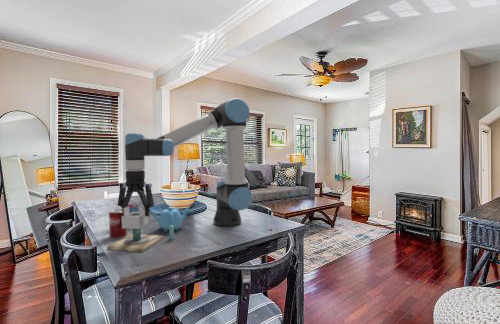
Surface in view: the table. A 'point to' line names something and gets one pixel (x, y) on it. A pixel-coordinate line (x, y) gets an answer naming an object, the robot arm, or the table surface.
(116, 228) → the soda can
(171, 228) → the stand rod
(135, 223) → the white square bowl
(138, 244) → the peg stand
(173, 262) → the table surface
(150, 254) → the table surface
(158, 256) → the table surface
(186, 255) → the table surface
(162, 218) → the teapot
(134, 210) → the mug
